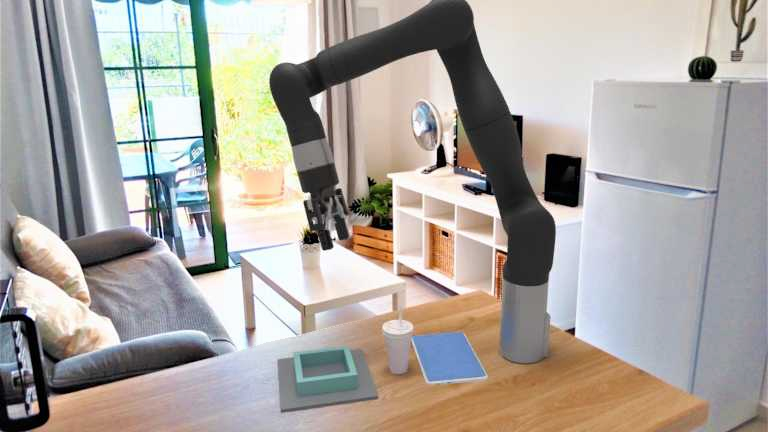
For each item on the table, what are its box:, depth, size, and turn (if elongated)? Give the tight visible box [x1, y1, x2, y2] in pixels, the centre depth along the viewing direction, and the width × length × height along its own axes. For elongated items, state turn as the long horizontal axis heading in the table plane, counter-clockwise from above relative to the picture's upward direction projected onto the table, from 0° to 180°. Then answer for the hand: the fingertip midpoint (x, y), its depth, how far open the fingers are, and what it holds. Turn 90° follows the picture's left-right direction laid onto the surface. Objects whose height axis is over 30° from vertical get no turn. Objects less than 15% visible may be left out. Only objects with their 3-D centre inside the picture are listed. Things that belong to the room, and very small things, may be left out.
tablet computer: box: [411, 331, 489, 386], centre depth 121 cm, size 19×13×1 cm, turn 7°
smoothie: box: [381, 305, 415, 375], centre depth 115 cm, size 6×6×14 cm
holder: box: [277, 345, 379, 413], centre depth 114 cm, size 18×18×4 cm
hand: (336, 244), depth 114 cm, fingers open, 8 cm apart
